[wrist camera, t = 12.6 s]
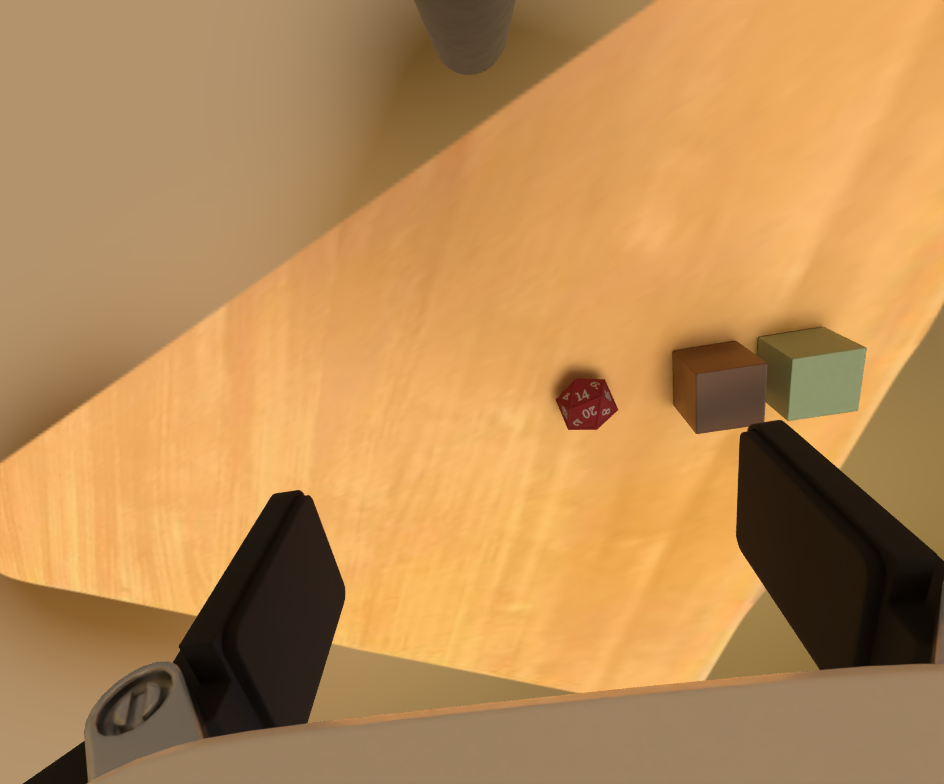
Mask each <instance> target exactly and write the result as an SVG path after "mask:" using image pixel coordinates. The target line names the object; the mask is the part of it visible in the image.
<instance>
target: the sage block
mask: <svg viewBox="0 0 944 784" xmlns="http://www.w3.org/2000/svg"><path fill="white" fill-rule="evenodd" d="M866 350H867V348H866V347H864V346H862V345H860V344H858V343H856V342H854V341H852V340H850V339H848V338H846V337H843V336H841V335H839V334H837V333H835V332H833V331H831V330H829V329H827V328H825V327H819V328H813V329H806V330H800V331H794V332H788V333H781V334H775V335H769V336H763V337H758V351H757V356H758V357H759V358H761V359H762V360H764V361H765V362H766V363H767V381H766V398H765V402H766V403H767V404H768V405H770V406H771V407H772V408H773V409H774V410H776V411H777V412H778V413H779V414H780V415H781V416H783V417H784V418H785V419H786V420H787V421H791V420H798V419H805V418H812V417H819V416H826V415H833V414H840V413H847V412H853V411H858V407H859V400H860V392H861V385H862V378H863V371H864V364H865V357H866Z"/></svg>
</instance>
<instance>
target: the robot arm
mask: <svg viewBox="0 0 944 784" xmlns="http://www.w3.org/2000/svg"><path fill="white" fill-rule="evenodd" d="M736 537H737V542H738V545H739V548H740V550H741V552H742V553H743V555H744V556H745V558H746V559H747V561H748V562H749V564H750V565H751V567H752V568H753V570H754V571H755V573H756V574H757V576H758V577H759V579H760V580H761V582H762V583H763V585H764V586H765V588H766V589H767V591H768V592H769V594H770V595H771V597H772V598H773V600H774V601H775V603H776V604H777V606H778V608H779V609H780V611H781V612H782V614H783V615H784V617H785V618H786V619H787V621H788V623H789V624H790V626H791V627H792V628H793V630H794V632H795V633H796V635H797V636H798V638H799V639H800V641H801V642H802V643H803V645H804V647H805V648H806V649H807V651H808V653H809V654H810V656H811V657H812V659H813V660H814V661H815V663H816V664H817V666H818V668H819V669H820V670H815V671H805V672H804V671H803V672H791V673H780V674H767V675H757V676H748V677H738V678H727V679H719V680H718V679H717V680H707V681H697V682H687V683H677V684H667V685H657V686H647V687H637V688H626V689H617V690H607V691H598V692H588V693H579V694H569V695H560V696H551V697H540V698H531V699H521V700H512V701H504V702H493V703H484V704H474V705H466V706H456V707H447V708H438V709H429V710H420V711H411V712H402V713H393V714H384V715H375V716H366V717H357V718H348V719H339V720H330V721H323V722H314V723H307V722H308V719H309V716H310V712H311V709H312V706H313V703H314V699H315V696H316V693H317V689H318V686H319V683H320V680H321V677H322V673H323V670H324V667H325V664H326V660H327V657H328V654H329V650H330V647H331V644H332V641H333V637H334V634H335V631H336V628H337V624H338V621H339V618H340V615H341V611H342V608H343V605H344V601H345V586H344V582H343V580H342V577H341V574H340V572H339V569H338V566H337V564H336V561H335V558H334V556H333V553H332V550H331V547H330V545H329V542H328V539H327V537H326V534H325V531H324V529H323V526H322V523H321V521H320V518H319V515H318V512H317V510H316V507H315V504H314V502H313V499H312V498H311V497H310V496H309V495H306V496H305V495H304V493H303V492H302V491H300V490H296V491H289V492H282V493H276V494H273V495H272V496H271V498H270V499H269V501H268V503H267V504H266V506H265V507H264V509H263V511H262V512H261V514H260V516H259V517H258V519H257V520H256V522H255V524H254V525H253V527H252V528H251V530H250V532H249V533H248V535H247V537H246V538H245V540H244V541H243V543H242V545H241V546H240V548H239V550H238V551H237V553H236V554H235V556H234V558H233V559H232V561H231V562H230V564H229V566H228V567H227V569H226V571H225V572H224V574H223V575H222V577H221V579H220V580H219V582H218V584H217V585H216V587H215V588H214V590H213V592H212V593H211V595H210V596H209V598H208V600H207V601H206V603H205V605H204V606H203V608H202V609H201V611H200V613H199V614H198V616H197V618H196V619H195V621H194V622H193V624H192V626H191V627H190V629H189V631H188V632H187V634H186V635H185V637H184V639H183V640H182V642H181V643H180V645H179V648H180V652H179V653H178V655H177V657H176V658H175V660H174V661H173V663H171V662H156V663H152V664H149V665H146V666H143V667H141V668H139V669H137V670H135V671H133V672H131V673H129V674H128V675H126V676H125V677H124V678H122V679H121V680H119V681H118V682H117V683H115V684H114V685H113V686H112V687H111V688H110V689H109V690H108V691H107V692H106V693H104V695H102V697H101V698H100V699H99V700H98V702H97V703H96V704H95V706H94V707H93V708H92V710H91V712H90V714H89V716H88V718H87V720H86V724H85V731H84V738H85V741H84V742H82V743H81V744H79V745H78V746H76V747H75V748H74V749H72V750H71V751H70V752H68V753H66V754H65V755H64V756H62V757H61V758H59V759H58V760H56V761H55V762H54V763H52V764H51V765H49V766H48V767H46V768H45V769H43V770H42V771H41V772H39V773H38V774H36V775H35V776H33V777H32V778H30V779H29V780H28V781H26V782H25V783H23V784H944V561H943V560H942V559H941V558H940V557H939V556H937V554H936V553H935V552H934V551H933V550H932V549H930V548H929V547H928V546H927V545H926V544H925V543H923V542H922V541H921V540H920V539H919V538H918V537H917V536H915V535H914V534H913V533H912V532H911V531H910V530H908V529H907V528H906V527H905V526H904V525H903V524H902V523H900V522H899V521H898V520H897V519H896V518H895V517H893V516H892V515H891V514H890V513H889V512H888V511H887V510H885V509H884V508H883V507H882V506H881V505H880V504H878V503H877V502H876V501H875V500H874V499H873V498H872V497H870V496H869V495H868V494H867V493H866V492H865V491H863V490H862V489H861V488H860V487H859V486H858V485H856V484H855V483H854V482H853V481H852V480H851V479H850V478H848V477H847V476H846V475H845V474H844V473H843V472H841V471H840V470H839V469H838V468H837V467H836V466H835V465H833V464H832V463H831V462H830V461H829V460H828V459H827V458H825V457H824V456H823V455H822V454H821V453H820V452H818V451H817V450H816V449H815V448H814V447H813V446H812V445H810V444H809V443H808V442H807V441H806V440H805V439H803V438H802V437H801V436H800V435H799V434H798V433H797V432H795V431H794V430H793V429H792V428H791V427H790V426H788V425H787V424H786V423H785V422H783V421H782V420H776V421H769V422H762V423H755V424H751V425H750V426H749V428H748V431H747V432H743V433H741V435H740V444H739V471H738V498H737V524H736Z"/></svg>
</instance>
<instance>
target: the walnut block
mask: <svg viewBox="0 0 944 784" xmlns="http://www.w3.org/2000/svg"><path fill="white" fill-rule="evenodd" d="M766 381H767V363H766V362H765V361H764V360H762V359H761V358H759V357H758V356H757V355H755V354H754V353H752V352H751V351H750V350H748V349H747V348H745V347H744V346H742V345H741V344H740V343H738V342H737V341H732V342H726V343H720V344H713V345H707V346H701V347H695V348H688V349H682V350H676V351H673V391H674V406H675V408H676V409H677V410H678V411H679V413H680V414H681V415H682V417H683V418H684V419H685V420H686V422H687V423H688V424H689V425H690V427H691V428H692V429H693V431H694V432H695V433H696V434H700V433H707V432H714V431H721V430H728V429H735V428H742V427H749V426H750V425H751V424H755V423H762V422H764V415H765V398H766Z"/></svg>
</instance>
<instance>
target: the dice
mask: <svg viewBox="0 0 944 784" xmlns="http://www.w3.org/2000/svg"><path fill="white" fill-rule="evenodd" d="M556 402H557V404H558V407H559V409H560V411H561V414H562V416H563V418H564V421H565V423H566V426H567V428H568V430H597V429H598V428H599V427H600V426H601V425H602V424H604V423H605V422H606V421H607V420H608V419H609V418H610V417H611V416H612V415H613V414H614V413H615V412H616V411H618V408H617V406H616V404H615V401H614V399H613V397H612V395H611V392H610V390H609V388H608V386H607V383H606V381H605V379H574V381H573V382H572V383H571V384H570V385H569V386H568V387H567V388H566V389H565V390H564V391H563V392H562V394H561V395H560V396H559V397H558V398H557V399H556Z"/></svg>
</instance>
